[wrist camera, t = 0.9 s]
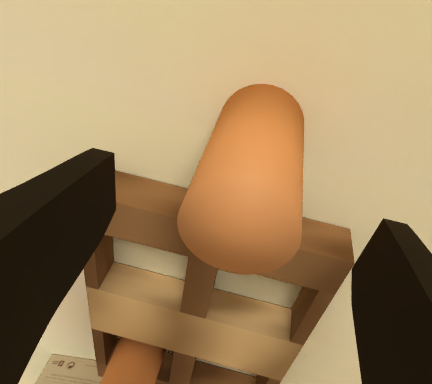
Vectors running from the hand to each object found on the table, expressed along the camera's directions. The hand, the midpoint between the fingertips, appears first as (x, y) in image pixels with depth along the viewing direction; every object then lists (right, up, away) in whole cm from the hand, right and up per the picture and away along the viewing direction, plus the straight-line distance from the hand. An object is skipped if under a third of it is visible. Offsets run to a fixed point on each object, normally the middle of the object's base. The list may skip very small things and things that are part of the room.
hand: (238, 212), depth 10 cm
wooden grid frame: (-2, -6, +12) cm, 14 cm away
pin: (-5, -9, +15) cm, 19 cm away
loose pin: (+1, +3, +4) cm, 5 cm away
